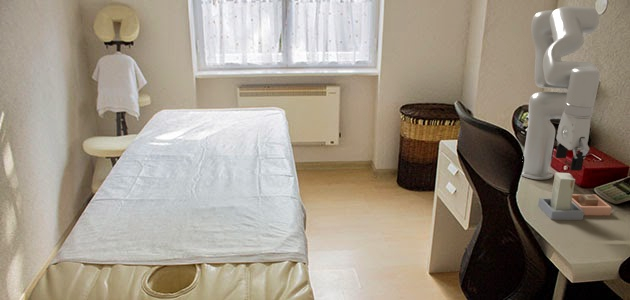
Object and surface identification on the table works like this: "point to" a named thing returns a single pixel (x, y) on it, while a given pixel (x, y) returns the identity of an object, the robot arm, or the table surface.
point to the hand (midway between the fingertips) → (567, 163)
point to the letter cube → (587, 200)
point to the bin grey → (561, 211)
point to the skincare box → (562, 191)
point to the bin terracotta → (593, 210)
